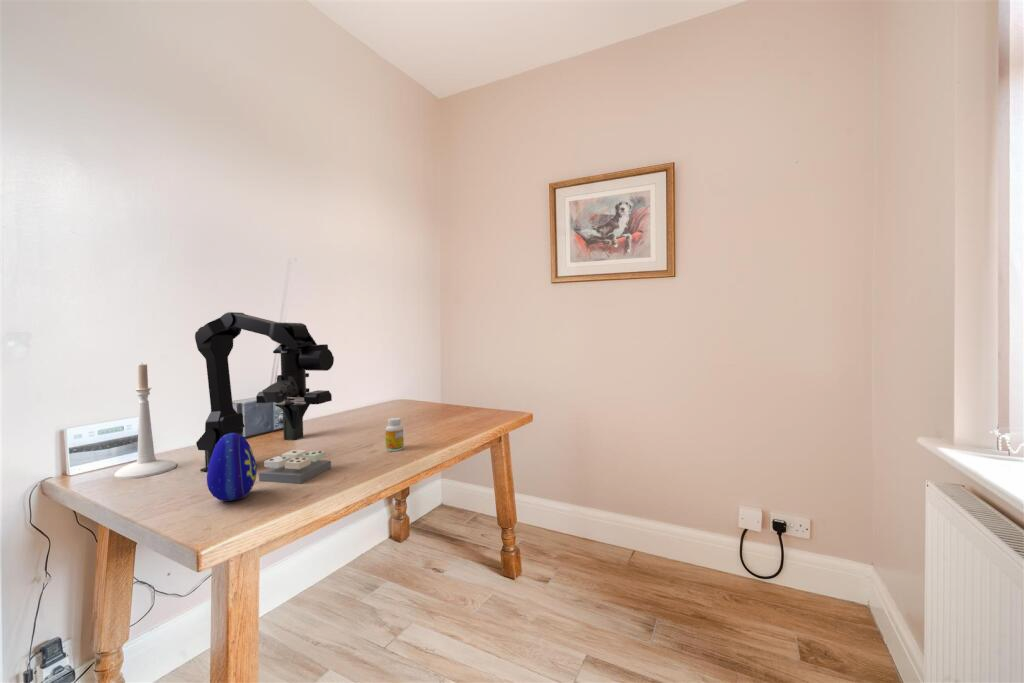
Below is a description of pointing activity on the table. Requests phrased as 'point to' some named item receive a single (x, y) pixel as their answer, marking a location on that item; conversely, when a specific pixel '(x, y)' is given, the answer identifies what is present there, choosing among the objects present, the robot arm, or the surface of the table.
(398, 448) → the supplement bottle
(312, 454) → the key three dot
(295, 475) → the keypad board
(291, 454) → the key one dot
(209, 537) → the table surface
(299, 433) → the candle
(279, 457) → the key two dot
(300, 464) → the key four dot
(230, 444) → the ornament
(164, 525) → the table surface
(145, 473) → the candlestick
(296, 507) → the table surface
